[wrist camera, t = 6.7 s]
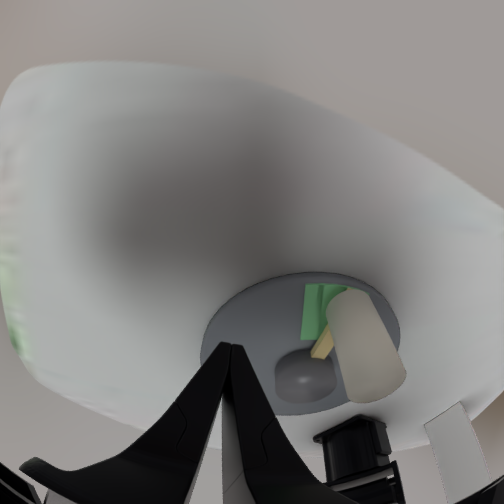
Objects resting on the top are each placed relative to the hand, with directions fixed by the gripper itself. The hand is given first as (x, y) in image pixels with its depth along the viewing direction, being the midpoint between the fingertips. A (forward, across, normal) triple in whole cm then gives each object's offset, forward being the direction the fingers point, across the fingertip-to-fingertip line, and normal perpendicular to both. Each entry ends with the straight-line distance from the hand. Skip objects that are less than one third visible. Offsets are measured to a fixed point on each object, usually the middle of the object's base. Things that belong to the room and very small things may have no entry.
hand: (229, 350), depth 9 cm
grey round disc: (+6, -6, +6) cm, 10 cm away
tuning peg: (+5, -6, +3) cm, 8 cm away
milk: (+6, -33, +18) cm, 38 cm away
